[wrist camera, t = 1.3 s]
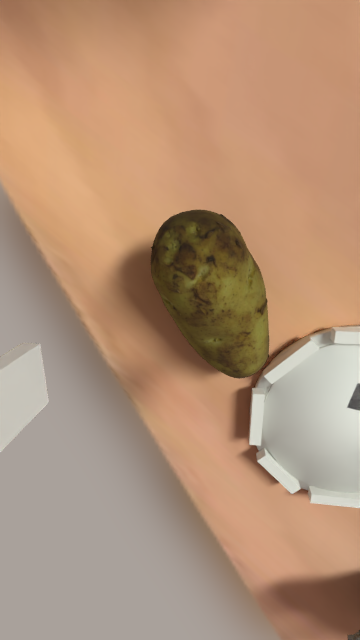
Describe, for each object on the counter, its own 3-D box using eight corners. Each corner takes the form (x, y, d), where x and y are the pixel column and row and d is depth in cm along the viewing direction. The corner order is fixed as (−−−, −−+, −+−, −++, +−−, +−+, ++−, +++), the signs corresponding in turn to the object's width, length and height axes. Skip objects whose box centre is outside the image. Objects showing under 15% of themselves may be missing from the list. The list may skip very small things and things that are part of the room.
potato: (171, 361, 29) (151, 411, 22) (160, 214, 25) (132, 212, 18) (264, 362, 28) (278, 415, 20) (267, 207, 24) (286, 202, 17)
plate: (255, 321, 27) (257, 328, 25) (479, 328, 25) (498, 337, 23) (244, 481, 32) (245, 495, 30) (429, 499, 30) (441, 516, 28)
